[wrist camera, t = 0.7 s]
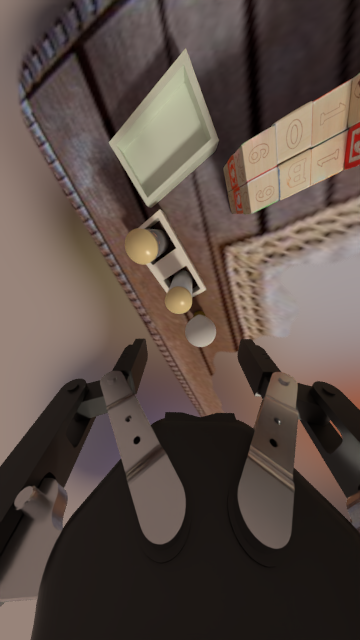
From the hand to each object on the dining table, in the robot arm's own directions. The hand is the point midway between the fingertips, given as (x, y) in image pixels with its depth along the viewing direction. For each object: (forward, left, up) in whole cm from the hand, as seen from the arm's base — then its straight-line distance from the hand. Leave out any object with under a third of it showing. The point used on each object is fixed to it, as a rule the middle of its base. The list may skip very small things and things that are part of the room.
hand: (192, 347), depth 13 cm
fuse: (+2, -1, -21) cm, 21 cm away
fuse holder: (+2, -5, -21) cm, 22 cm away
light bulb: (+3, +8, -21) cm, 23 cm away
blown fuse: (+2, -9, -21) cm, 23 cm away
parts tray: (-6, -18, -21) cm, 29 cm away
